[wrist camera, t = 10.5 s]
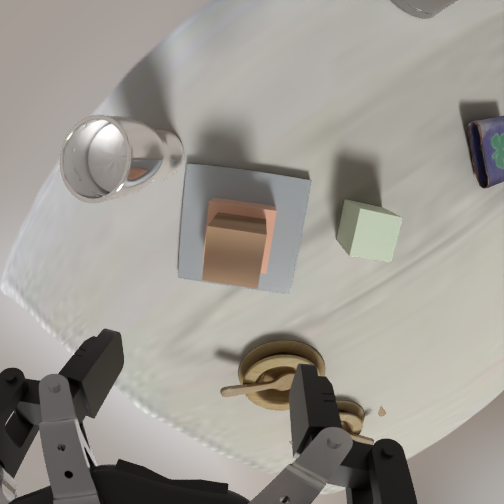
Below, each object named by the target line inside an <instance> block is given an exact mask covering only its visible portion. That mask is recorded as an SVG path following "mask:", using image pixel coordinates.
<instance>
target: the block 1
mask: <svg viewBox="0 0 504 504" xmlns="http://www.w3.org/2000/svg"><path fill="white" fill-rule="evenodd" d="M266 237H267V227H266V219H261V218H254V217H247V216H241V215H234V214H227V213H220V212H218V213H217V214H216V215H215V217H214V218H213V219H212V221H211V222H210V223H209V224H208V226H207V234H206V244H205V254H204V264H203V276H202V280H204V281H210V282H216V283H222V284H229V285H235V286H242V287H249V288H255V289H258V284H259V278H260V272H261V266H262V260H263V255H264V249H265V243H266Z"/></svg>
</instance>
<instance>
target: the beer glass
mask: <svg viewBox="0 0 504 504" xmlns="http://www.w3.org/2000/svg"><path fill="white" fill-rule="evenodd" d="M183 155H184V152H183V146H182V144H181V142H180V140H179V138H178V137H177V136H176V135H175V134H173V133H172V132H170V131H167V130H153V129H152V128H151V127H150V126H148V125H146V124H145V123H143V122H141V121H139V120H135V119H132V118H128V117H122V116H104V115H93V116H89V117H86V118H84V119H82V120H81V121H79V122H78V123H77V124H76V125H75V126H74V127H73V128H72V129H71V130H70V131H69V133H68V134H67V136H66V138H65V140H64V142H63V145H62V149H61V154H60V171H61V175H62V178H63V181H64V183H65V185H66V187H67V189H68V190H69V191H70V192H71V194H72V195H74V196H75V197H76V198H78V199H79V200H81V201H84V202H87V203H100V202H103V201H107V200H113V199H117V198H121V197H125V196H128V195H130V194H133V193H135V192H137V191H139V190H141V189H142V188H144V187H145V186H147V185H148V184H149V183H151V182H152V181H153V180H164V179H167V178H169V177H171V176H172V175H174V174H175V173H176V172H177V171H178V169H179V168H180V166H181V164H182V161H183Z"/></svg>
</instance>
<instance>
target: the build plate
mask: <svg viewBox="0 0 504 504" xmlns="http://www.w3.org/2000/svg"><path fill="white" fill-rule="evenodd" d="M310 186H311V180H308V179H302V178H297V177H291V176H285V175H278V174H272V173H265V172H259V171H251V170H244V169H236V168H229V167H220V166H211V165H202V164H192V163H187V168H186V177H185V187H184V197H183V209H182V221H181V234H180V249H179V268H178V278H183V279H189V280H195V281H201V282H208V283H214V284H221V285H227V286H234V287H241V288H248V289H255V288H249V287H242V286H235V285H229V284H222V283H216V282H210V281H204V280H202V276H203V264H204V254H205V244H206V234H207V226H208V224H209V223H210V222H211V221H212V219H213V218H214V217H215V215H216V214H217V213H218V212H220V213H227V214H234V215H241V216H247V217H254V218H261V219H266V227H267V237H266V243H265V249H264V255H263V260H262V266H261V272H260V278H259V284H258V289H255V290H262V291H269V292H276V293H284V294H290V290H291V285H292V281H293V276H294V271H295V266H296V261H297V256H298V251H299V246H300V241H301V236H302V231H303V225H304V220H305V215H306V209H307V204H308V198H309V192H310Z"/></svg>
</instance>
